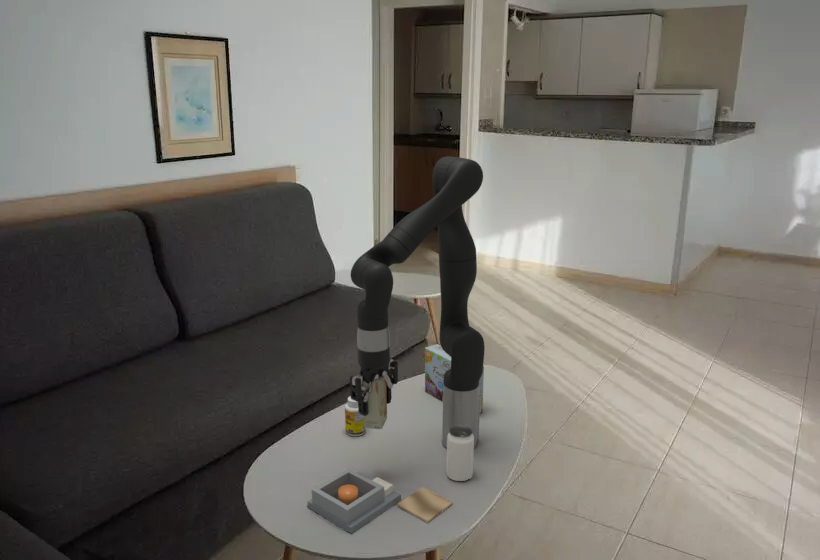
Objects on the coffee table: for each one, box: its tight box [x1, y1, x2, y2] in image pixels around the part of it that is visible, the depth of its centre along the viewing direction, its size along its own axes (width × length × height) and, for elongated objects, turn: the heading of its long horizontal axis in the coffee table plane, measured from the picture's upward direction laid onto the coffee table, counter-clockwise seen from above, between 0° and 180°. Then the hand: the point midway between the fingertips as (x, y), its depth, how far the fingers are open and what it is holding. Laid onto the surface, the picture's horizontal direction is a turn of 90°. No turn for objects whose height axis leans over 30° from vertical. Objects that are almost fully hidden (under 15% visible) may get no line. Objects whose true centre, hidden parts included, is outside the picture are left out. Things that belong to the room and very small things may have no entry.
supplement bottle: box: [344, 395, 367, 437], centre depth 181 cm, size 6×6×10 cm
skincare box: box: [362, 376, 388, 430], centre depth 158 cm, size 6×4×12 cm
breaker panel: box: [307, 467, 402, 534], centre depth 151 cm, size 16×14×5 cm
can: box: [446, 426, 475, 482], centre depth 161 cm, size 6×6×12 cm
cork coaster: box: [396, 486, 454, 524], centre depth 151 cm, size 9×9×1 cm
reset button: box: [337, 484, 359, 505], centre depth 149 cm, size 4×4×3 cm
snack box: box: [424, 343, 485, 414], centre depth 198 cm, size 21×6×15 cm, turn 38°
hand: (375, 408), depth 159 cm, fingers closed on skincare box, 7 cm apart
